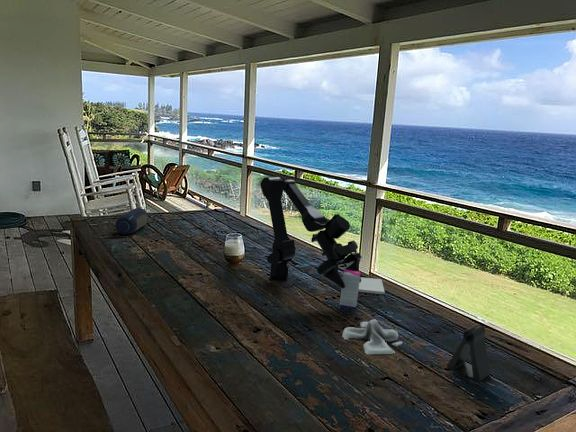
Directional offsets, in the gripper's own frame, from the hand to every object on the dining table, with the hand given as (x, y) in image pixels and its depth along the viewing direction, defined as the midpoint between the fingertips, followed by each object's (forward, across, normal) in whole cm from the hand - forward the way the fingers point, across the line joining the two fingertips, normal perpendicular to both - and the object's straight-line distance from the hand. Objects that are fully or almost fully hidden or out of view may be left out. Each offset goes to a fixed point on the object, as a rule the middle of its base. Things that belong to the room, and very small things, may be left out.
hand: (352, 284), depth 159 cm
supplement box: (+5, 0, +6) cm, 8 cm away
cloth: (+19, -13, -8) cm, 25 cm away
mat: (-1, +20, +11) cm, 23 cm away
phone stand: (+38, -11, -27) cm, 48 cm away
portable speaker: (-86, -9, +96) cm, 129 cm away
